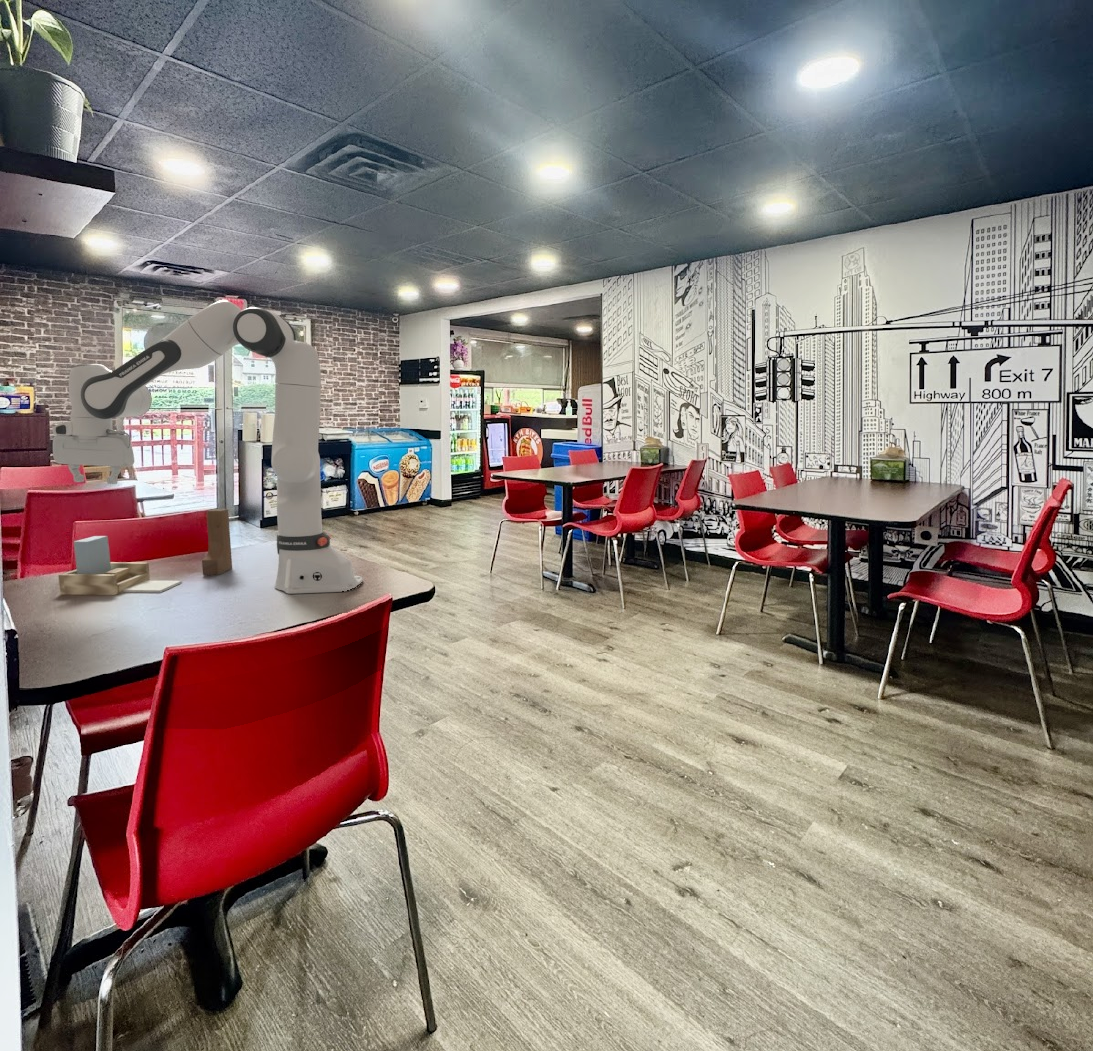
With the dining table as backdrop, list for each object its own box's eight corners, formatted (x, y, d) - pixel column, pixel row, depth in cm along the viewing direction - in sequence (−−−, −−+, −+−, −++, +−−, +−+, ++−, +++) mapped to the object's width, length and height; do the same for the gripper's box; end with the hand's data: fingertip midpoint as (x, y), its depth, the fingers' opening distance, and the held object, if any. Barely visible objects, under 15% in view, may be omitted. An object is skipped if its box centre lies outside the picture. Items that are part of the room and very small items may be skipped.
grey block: (112, 583, 181) (107, 536, 179) (92, 591, 173) (87, 541, 171) (99, 583, 181) (94, 535, 179) (79, 590, 173) (73, 541, 171)
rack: (151, 580, 185) (149, 562, 184) (116, 594, 170) (114, 575, 169) (99, 579, 185) (98, 562, 184) (60, 594, 170) (58, 575, 169)
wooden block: (218, 575, 190) (213, 513, 187) (202, 575, 190) (197, 513, 187) (232, 568, 199) (228, 508, 196) (217, 568, 199) (213, 508, 196)
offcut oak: (129, 577, 179) (128, 568, 179) (116, 582, 174) (115, 572, 174) (118, 577, 179) (117, 567, 179) (104, 582, 174) (104, 572, 174)
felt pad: (181, 582, 182) (181, 580, 182) (160, 592, 172) (160, 590, 172) (145, 582, 182) (144, 580, 182) (121, 592, 172) (121, 589, 172)
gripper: (138, 430, 173) (141, 483, 175) (66, 427, 175) (70, 479, 178) (120, 430, 167) (123, 486, 169) (46, 427, 169) (50, 481, 171)
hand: (95, 482), depth 173 cm, fingers open, 8 cm apart
